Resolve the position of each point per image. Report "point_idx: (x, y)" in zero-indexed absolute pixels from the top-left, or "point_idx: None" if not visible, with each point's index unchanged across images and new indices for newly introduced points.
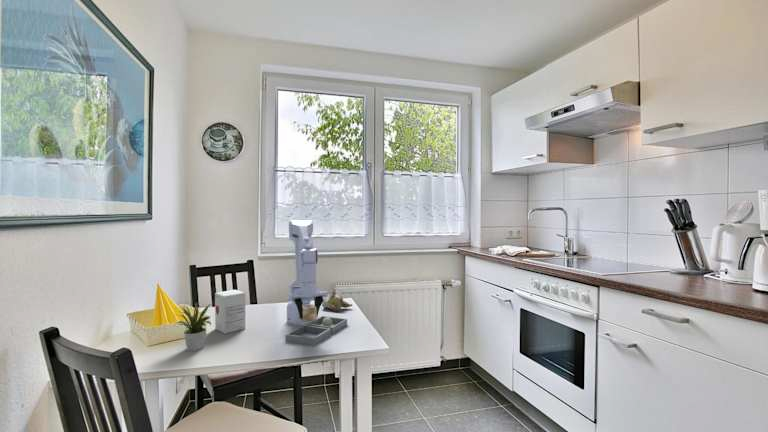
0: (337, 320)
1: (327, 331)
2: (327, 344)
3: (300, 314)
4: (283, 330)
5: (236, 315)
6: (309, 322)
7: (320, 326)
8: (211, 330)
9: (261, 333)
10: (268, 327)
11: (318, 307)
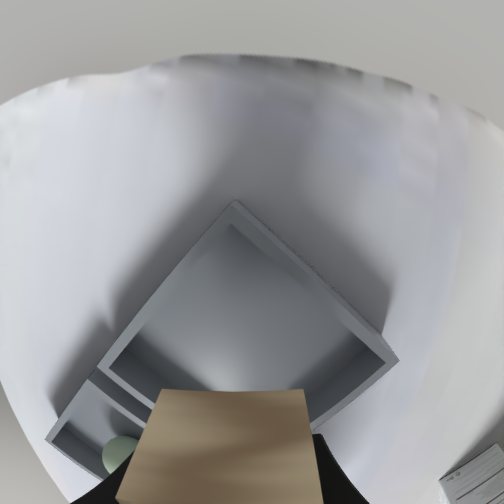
0: (88, 460)
1: (116, 340)
2: (142, 223)
3: (335, 464)
4: None
5: (485, 497)
6: None
7: None
8: None
9: (421, 450)
10: (375, 492)
11: (102, 497)
